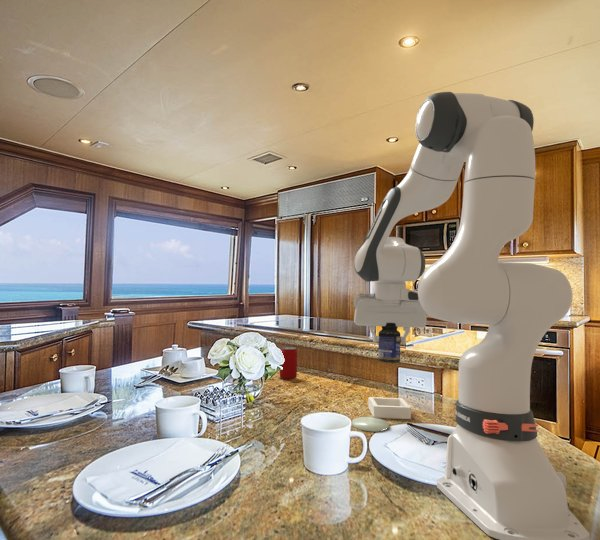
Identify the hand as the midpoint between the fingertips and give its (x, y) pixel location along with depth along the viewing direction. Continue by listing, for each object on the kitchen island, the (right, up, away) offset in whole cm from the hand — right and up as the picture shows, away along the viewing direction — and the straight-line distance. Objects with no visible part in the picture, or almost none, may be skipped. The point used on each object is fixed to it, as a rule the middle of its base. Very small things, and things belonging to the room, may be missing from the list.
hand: (389, 342), depth 111 cm
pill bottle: (0, -6, 0) cm, 6 cm away
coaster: (-8, -19, -13) cm, 24 cm away
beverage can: (-30, -22, +42) cm, 56 cm away
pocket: (0, -20, -1) cm, 20 cm away
